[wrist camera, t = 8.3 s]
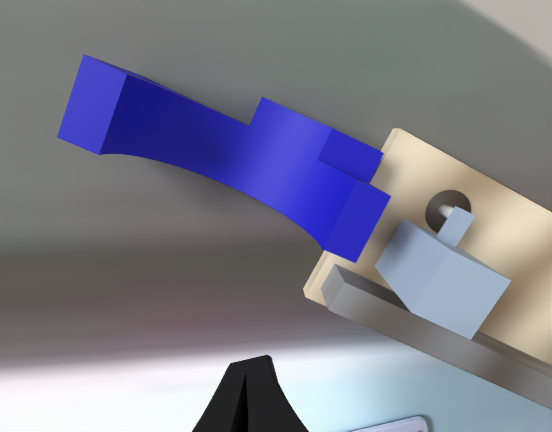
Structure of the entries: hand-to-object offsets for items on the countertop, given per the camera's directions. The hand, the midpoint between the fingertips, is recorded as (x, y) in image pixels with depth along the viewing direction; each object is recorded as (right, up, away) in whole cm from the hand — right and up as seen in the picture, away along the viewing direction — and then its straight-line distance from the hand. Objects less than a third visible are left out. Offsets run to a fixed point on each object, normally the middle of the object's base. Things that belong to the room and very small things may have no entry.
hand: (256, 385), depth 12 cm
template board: (+14, +1, +10) cm, 18 cm away
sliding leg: (+8, +4, +8) cm, 12 cm away
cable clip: (-1, +9, +8) cm, 12 cm away
